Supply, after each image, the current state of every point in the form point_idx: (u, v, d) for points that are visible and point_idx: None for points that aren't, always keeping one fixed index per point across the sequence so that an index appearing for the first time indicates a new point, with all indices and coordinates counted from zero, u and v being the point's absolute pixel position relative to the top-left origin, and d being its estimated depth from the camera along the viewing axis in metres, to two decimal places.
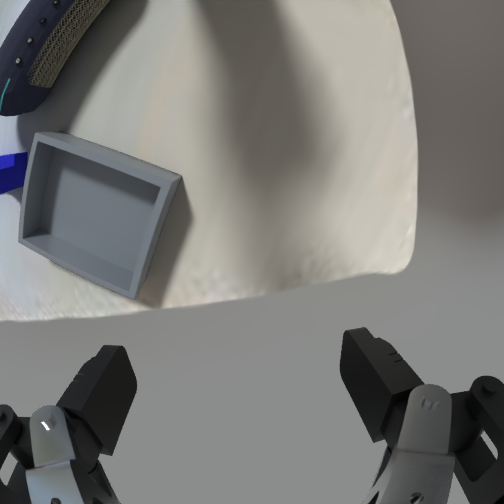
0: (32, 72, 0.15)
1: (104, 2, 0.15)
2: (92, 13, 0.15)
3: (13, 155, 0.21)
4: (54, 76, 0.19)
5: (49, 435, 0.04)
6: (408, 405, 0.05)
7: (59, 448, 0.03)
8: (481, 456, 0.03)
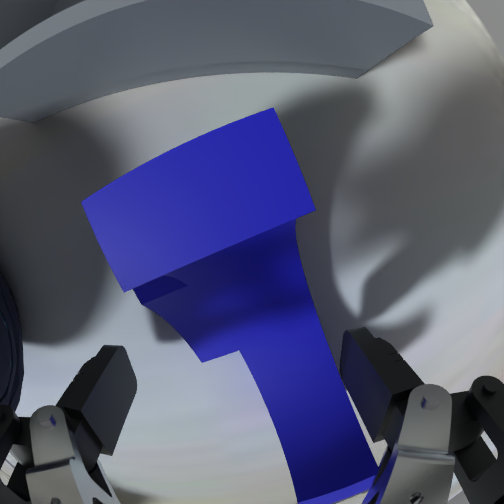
0: None
1: None
2: None
3: None
4: None
5: (49, 435, 0.04)
6: (408, 405, 0.05)
7: (59, 448, 0.03)
8: (481, 456, 0.03)
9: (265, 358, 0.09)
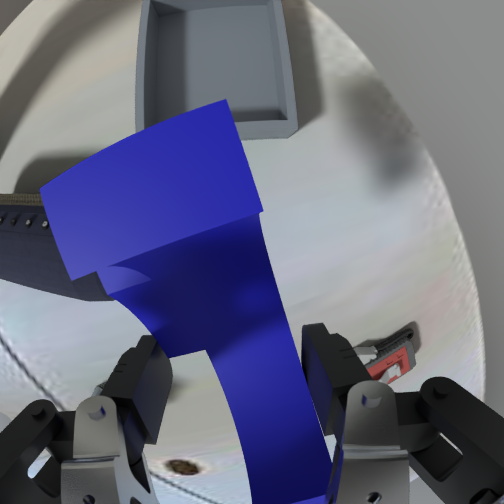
0: None
1: None
2: None
3: None
4: None
5: (95, 427, 0.04)
6: (348, 404, 0.05)
7: (116, 438, 0.04)
8: (444, 454, 0.04)
9: (231, 360, 0.09)
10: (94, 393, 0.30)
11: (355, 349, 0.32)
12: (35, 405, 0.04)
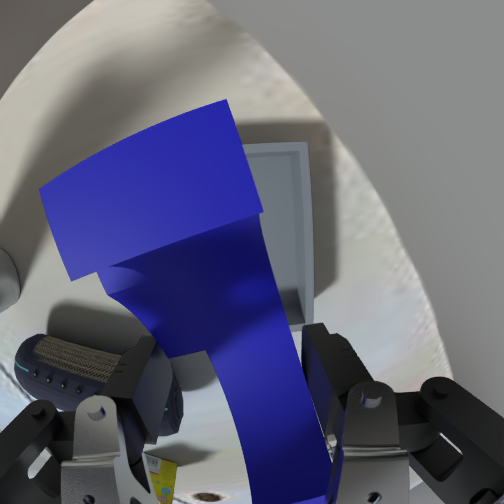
0: None
1: (63, 343, 0.27)
2: (71, 348, 0.26)
3: None
4: None
5: (95, 427, 0.04)
6: (348, 404, 0.05)
7: (116, 438, 0.04)
8: (444, 454, 0.04)
9: (231, 361, 0.09)
10: None
11: None
12: (34, 405, 0.04)
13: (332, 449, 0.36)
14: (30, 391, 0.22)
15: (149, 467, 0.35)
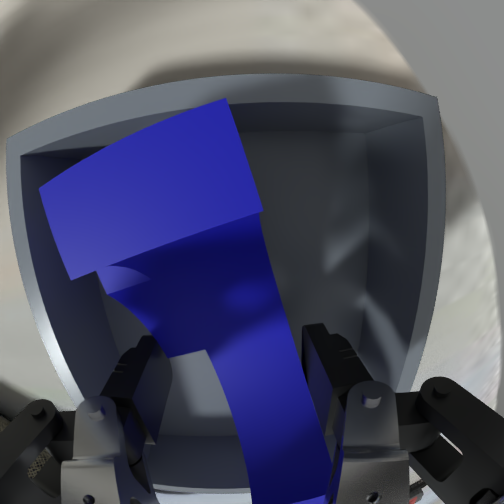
0: None
1: (0, 430, 0.11)
2: None
3: None
4: None
5: (95, 427, 0.04)
6: (348, 404, 0.05)
7: (116, 438, 0.04)
8: (444, 454, 0.04)
9: (231, 360, 0.09)
10: None
11: None
12: (35, 405, 0.04)
13: None
14: None
15: None
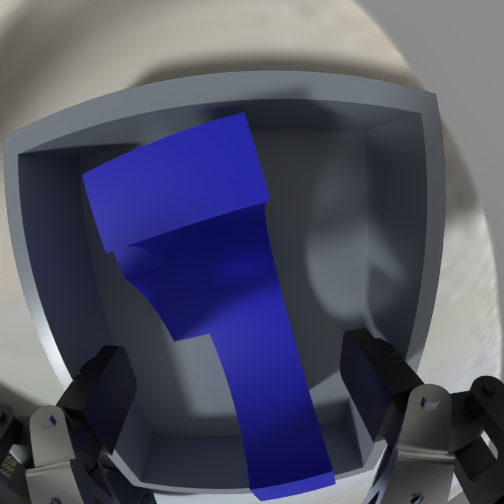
0: None
1: None
2: None
3: None
4: None
5: (49, 435, 0.04)
6: (408, 405, 0.05)
7: (59, 448, 0.03)
8: (481, 456, 0.03)
9: (233, 345, 0.10)
10: None
11: None
12: None
13: None
14: None
15: None
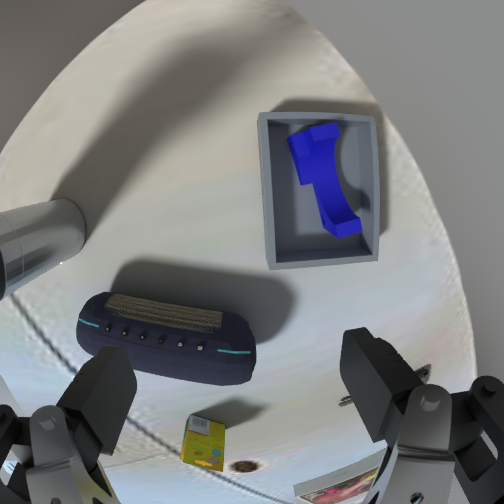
0: (208, 328, 0.30)
1: (137, 298, 0.33)
2: (148, 302, 0.33)
3: (292, 136, 0.28)
4: (211, 310, 0.34)
5: (49, 435, 0.04)
6: (408, 405, 0.05)
7: (59, 448, 0.03)
8: (481, 456, 0.03)
9: (322, 186, 0.31)
10: (190, 421, 0.42)
11: None
12: None
13: None
14: (95, 349, 0.28)
15: (198, 429, 0.41)
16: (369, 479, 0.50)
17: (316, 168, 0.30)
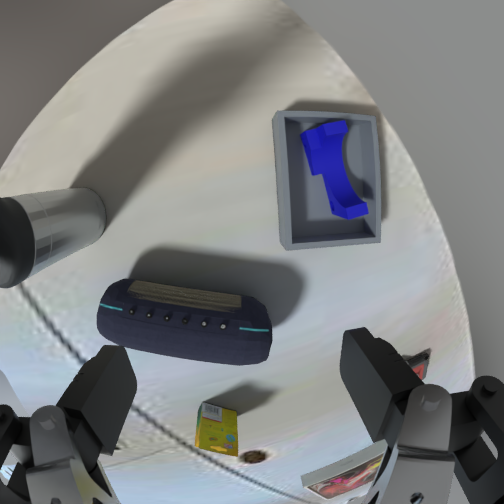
0: (230, 308, 0.33)
1: (158, 284, 0.36)
2: (170, 287, 0.36)
3: (306, 132, 0.31)
4: (230, 294, 0.37)
5: (49, 435, 0.04)
6: (408, 405, 0.05)
7: (59, 448, 0.03)
8: (481, 456, 0.03)
9: (331, 176, 0.34)
10: (203, 408, 0.44)
11: None
12: None
13: None
14: (117, 333, 0.31)
15: (211, 415, 0.43)
16: (375, 467, 0.53)
17: (326, 160, 0.34)
